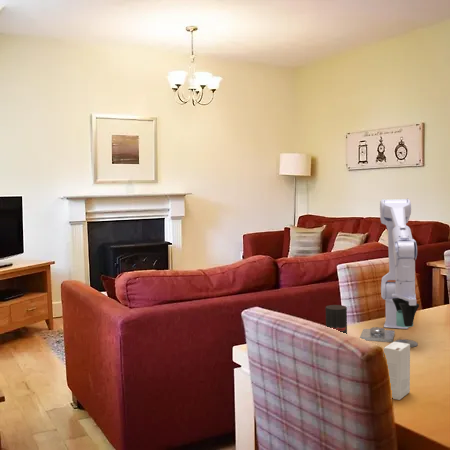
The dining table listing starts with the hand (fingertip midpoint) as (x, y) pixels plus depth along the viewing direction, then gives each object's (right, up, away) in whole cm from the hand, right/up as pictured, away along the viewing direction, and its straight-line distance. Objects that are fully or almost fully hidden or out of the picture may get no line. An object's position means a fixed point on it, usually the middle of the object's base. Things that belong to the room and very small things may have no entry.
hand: (405, 323), depth 169 cm
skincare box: (-15, -10, -39) cm, 42 cm away
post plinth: (-6, -6, +9) cm, 13 cm away
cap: (0, -1, 0) cm, 1 cm away
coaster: (0, -6, +1) cm, 6 cm away
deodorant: (-23, -8, -11) cm, 27 cm away
